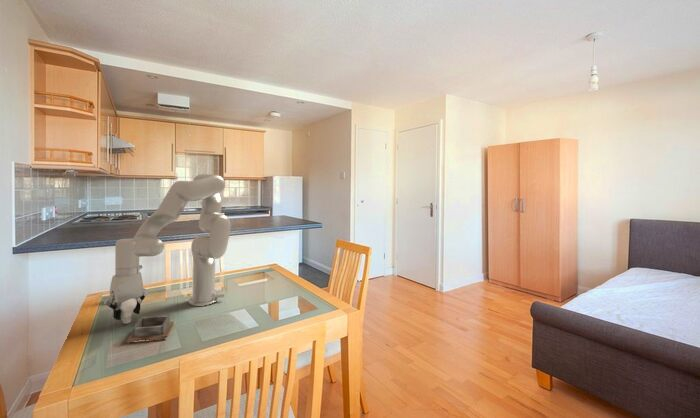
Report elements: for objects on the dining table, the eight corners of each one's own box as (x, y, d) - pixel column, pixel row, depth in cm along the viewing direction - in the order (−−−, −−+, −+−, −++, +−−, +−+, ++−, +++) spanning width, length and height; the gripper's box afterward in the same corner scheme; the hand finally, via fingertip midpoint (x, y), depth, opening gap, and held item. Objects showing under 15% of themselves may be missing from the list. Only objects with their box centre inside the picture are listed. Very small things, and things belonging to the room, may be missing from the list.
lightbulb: (126, 328, 118) (126, 299, 117) (112, 325, 119) (112, 297, 118) (141, 321, 124) (141, 294, 123) (127, 319, 125) (127, 292, 124)
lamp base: (173, 325, 122) (173, 314, 122) (166, 339, 111) (166, 327, 111) (138, 327, 118) (138, 316, 118) (126, 343, 107) (126, 330, 107)
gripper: (144, 264, 129) (144, 306, 131) (95, 274, 114) (96, 321, 115) (155, 267, 126) (155, 310, 127) (107, 277, 111) (107, 326, 112)
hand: (127, 315), depth 121 cm, fingers closed on lightbulb, 6 cm apart
